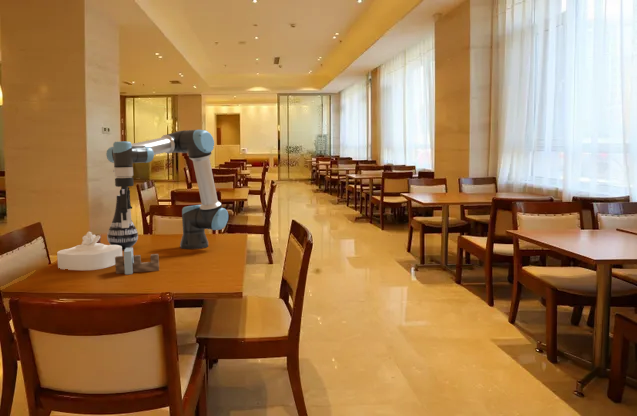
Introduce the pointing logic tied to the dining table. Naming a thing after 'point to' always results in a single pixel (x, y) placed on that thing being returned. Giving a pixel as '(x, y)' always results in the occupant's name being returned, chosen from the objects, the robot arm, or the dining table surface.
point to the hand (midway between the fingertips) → (126, 225)
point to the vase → (121, 230)
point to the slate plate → (128, 260)
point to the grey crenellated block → (138, 264)
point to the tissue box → (88, 255)
